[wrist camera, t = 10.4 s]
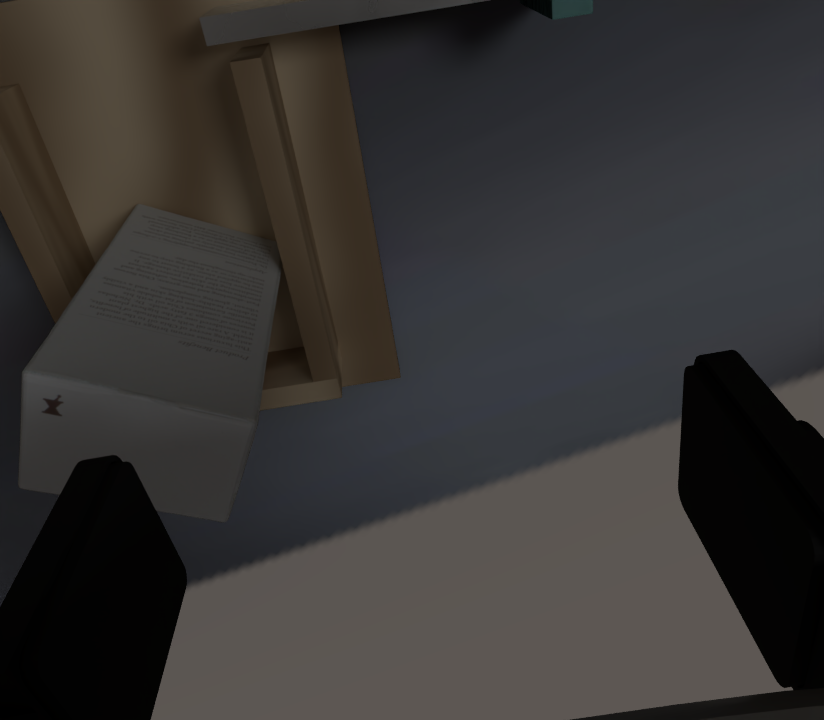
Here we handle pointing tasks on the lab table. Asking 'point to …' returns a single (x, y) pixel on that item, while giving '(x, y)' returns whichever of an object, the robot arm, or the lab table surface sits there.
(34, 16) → the rest
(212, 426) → the skincare box
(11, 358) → the lab table surface
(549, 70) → the lab table surface
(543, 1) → the gate
